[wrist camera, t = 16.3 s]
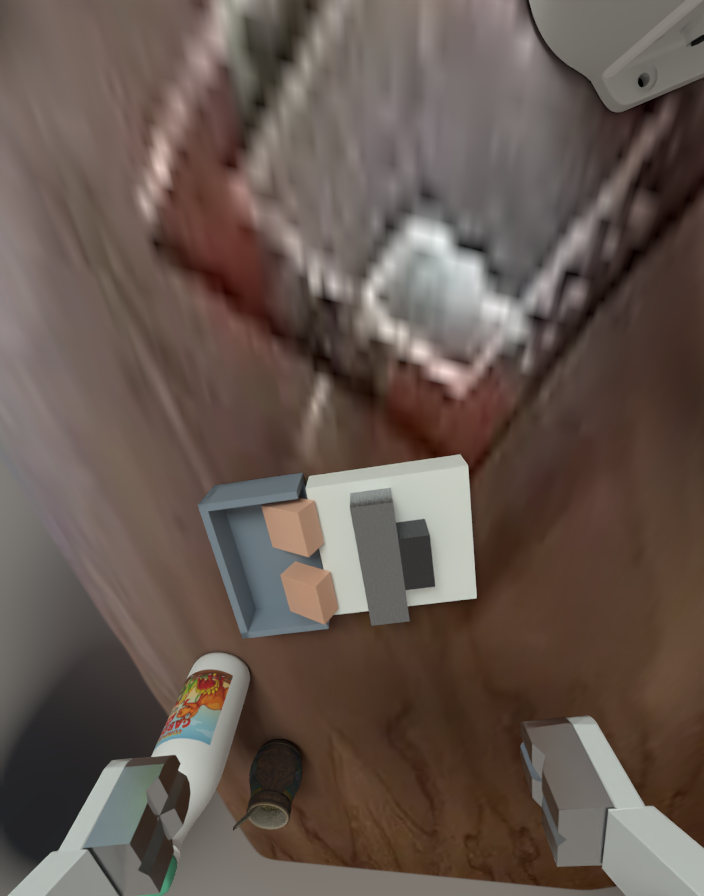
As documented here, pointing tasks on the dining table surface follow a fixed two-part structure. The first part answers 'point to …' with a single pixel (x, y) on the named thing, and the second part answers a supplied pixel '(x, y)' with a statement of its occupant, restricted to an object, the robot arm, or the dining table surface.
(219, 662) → the milk bottle
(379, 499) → the two-tone stepped block
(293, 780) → the mate gourd
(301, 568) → the tile back
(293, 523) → the tile front
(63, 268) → the dining table surface
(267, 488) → the tray
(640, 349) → the dining table surface
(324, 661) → the dining table surface
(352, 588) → the board
